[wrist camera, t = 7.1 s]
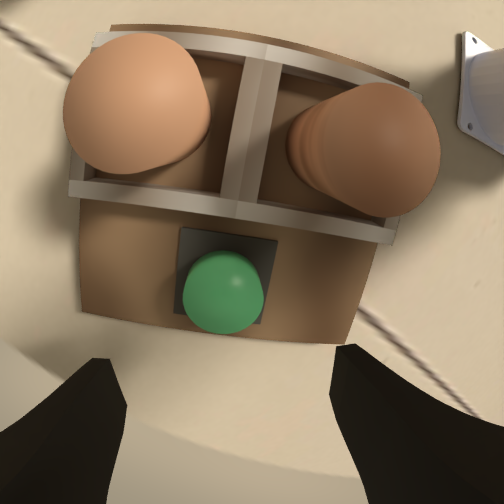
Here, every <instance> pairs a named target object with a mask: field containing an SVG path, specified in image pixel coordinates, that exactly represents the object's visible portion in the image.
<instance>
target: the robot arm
mask: <svg viewBox="0 0 504 504" xmlns="http://www.w3.org/2000/svg"><path fill="white" fill-rule="evenodd" d="M472 40H473V41H472ZM457 124H458V127H459V129H460V130H461V131H463V132H465V133H466V134H468V135H470V136H472V137H474V138H475V139H477V140H479V141H481V142H482V143H484V144H486V145H488V146H489V147H491V148H492V149H494V150H496V151H497V152H499V153H501V154H502V155H504V48H503V49H498V50H493V49H492V48H490V47H489V46H488V45H486V44H485V43H484V42H482V41H481V40H480V39H478V38H477V37H476V36H474V35H473V34H471V33H470V32H468V31H465V32H463V33H462V71H461V89H460V101H459V111H458V120H457ZM468 125H469V129H468ZM329 396H330V399H331V403H332V407H333V411H334V414H335V418H336V421H337V423H338V426H339V428H340V431H341V433H342V435H343V438H344V440H345V442H346V445H347V447H348V449H349V451H350V454H351V456H352V458H353V461H354V463H355V465H356V468H357V470H358V472H359V475H360V477H361V480H362V483H363V485H364V489H365V492H366V496H367V499H368V503H369V504H504V427H503V426H499V425H496V424H492V423H489V422H487V421H484V420H481V419H478V418H475V417H473V416H470V415H468V414H466V413H463V412H461V411H459V410H457V409H455V408H453V407H451V406H449V405H447V404H444V403H443V402H441V401H439V400H437V399H435V398H434V397H432V396H430V395H429V394H427V393H425V392H424V391H422V390H420V389H419V388H417V387H415V386H414V385H412V384H411V383H409V382H408V381H406V380H405V379H403V378H402V377H400V376H399V375H398V374H396V373H395V372H393V371H392V370H391V369H389V368H388V367H386V366H385V365H384V364H382V363H381V362H380V361H378V360H377V359H376V358H374V357H373V356H372V355H370V354H369V353H368V352H366V351H365V350H364V349H362V348H361V347H359V346H358V345H357V344H349V345H342V346H336V353H335V360H334V367H333V373H332V380H331V386H330V392H329ZM126 410H127V404H126V401H125V399H124V396H123V394H122V391H121V389H120V386H119V383H118V381H117V378H116V375H115V372H114V370H113V367H112V364H111V361H110V359H101V358H92V359H91V360H89V361H88V362H87V363H86V364H84V365H83V366H82V367H81V368H80V369H79V370H78V371H76V372H75V373H74V374H73V375H72V376H71V377H70V378H69V379H67V380H66V381H65V382H64V383H63V384H62V385H61V386H59V387H58V388H57V389H56V390H55V391H54V392H53V393H52V394H51V395H49V396H48V397H47V398H46V399H44V400H43V401H42V402H41V403H40V404H38V405H37V406H36V407H35V408H34V409H32V410H31V411H30V412H29V413H27V414H26V415H25V416H23V417H22V418H21V419H20V420H18V421H17V422H15V423H14V424H12V425H11V426H9V427H8V428H6V429H5V430H3V431H2V432H0V504H106V501H107V495H108V489H109V485H110V481H111V477H112V473H113V469H114V465H115V461H116V458H117V454H118V450H119V447H120V443H121V439H122V436H123V431H124V425H125V418H126Z"/></svg>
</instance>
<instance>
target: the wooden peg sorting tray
mask: <svg viewBox="0 0 504 504" xmlns="http://www.w3.org/2000/svg"><path fill="white" fill-rule="evenodd" d="M134 33H151V34H157V35H161V36H164V37H167V38H169V39H171V40H173V41H175V42H176V43H178V44H179V45H181V46H182V47H183V48H184V49H185V50H186V51H187V52H188V53H189V54H190V56H191V57H192V58H193V60H194V62H195V64H196V65H197V68H198V70H199V73H200V76H201V79H202V82H203V85H204V88H205V91H206V94H207V97H208V100H209V103H210V106H211V113H212V119H211V126H210V130H209V132H208V135H207V137H206V139H205V140H204V142H203V143H202V145H201V146H200V147H199V148H198V149H197V150H196V151H195V152H194V153H193V154H191V155H190V156H188V157H187V158H185V159H183V160H180V161H178V162H174V163H170V164H167V165H163V166H159V167H156V168H152V169H149V170H145V171H142V172H138V173H132V174H113V173H108V172H104V171H101V170H99V169H97V168H94V167H93V166H91V165H89V164H88V163H86V162H85V161H84V160H83V159H82V158H81V157H80V156H79V155H78V154H77V153H76V152H75V150H74V149H73V147H72V153H71V163H70V174H69V188H68V197H77V198H81V200H80V226H79V263H80V288H81V304H82V312H87V313H91V314H96V315H101V316H106V317H111V318H116V319H121V320H127V321H132V322H138V323H144V324H149V325H156V326H162V327H168V328H175V329H181V330H188V331H195V332H203V333H211V334H216V333H212V332H208V331H206V330H204V329H202V328H200V327H199V326H197V325H196V324H195V323H194V322H193V321H192V320H191V319H190V318H189V316H188V315H187V313H186V311H185V308H184V305H183V291H184V287H185V283H186V280H187V276H188V273H189V270H190V269H191V267H192V265H193V264H194V263H195V262H196V261H197V260H198V259H199V258H200V257H202V256H204V255H205V254H208V253H210V252H214V251H221V250H225V251H232V252H236V253H238V254H240V255H242V256H244V257H246V258H247V259H248V260H249V261H250V262H251V263H252V264H253V265H254V267H255V268H256V270H257V272H258V275H259V279H260V283H261V286H262V290H263V296H264V301H263V307H262V310H261V312H260V314H259V316H258V317H257V319H256V320H255V321H254V322H253V323H252V324H251V325H250V326H248V327H247V328H245V329H243V330H241V331H238V332H235V333H231V334H219V335H227V336H236V337H245V338H255V339H266V340H278V341H291V342H305V343H322V344H345V341H346V339H347V336H348V333H349V331H350V328H351V325H352V322H353V319H354V317H355V314H356V311H357V308H358V305H359V302H360V299H361V296H362V293H363V290H364V287H365V284H366V281H367V278H368V275H369V271H370V268H371V265H372V261H373V258H374V255H375V251H376V248H377V244H378V243H381V244H386V245H393V241H394V238H395V234H396V230H397V227H398V223H399V219H400V215H403V214H405V213H407V212H409V211H411V210H412V209H414V208H415V207H417V206H418V205H419V204H420V203H421V202H422V201H423V200H424V199H425V198H426V197H427V195H428V194H429V192H430V191H431V189H432V187H433V185H434V183H435V181H436V178H437V175H438V171H439V166H440V153H441V152H440V142H439V136H438V133H437V129H436V127H435V124H434V122H433V120H432V118H431V116H430V114H429V112H428V111H427V110H426V108H425V107H424V106H423V104H422V98H423V95H421V94H419V93H416V92H414V91H412V90H410V89H409V83H410V82H408V81H405V80H403V79H401V78H398V77H396V76H394V75H391V74H389V73H387V72H384V71H382V70H379V69H376V68H374V67H371V66H369V65H366V64H363V63H360V62H358V61H355V60H352V59H349V58H346V57H343V56H340V55H337V54H333V53H330V52H327V51H323V50H320V49H316V48H313V47H309V46H305V45H302V44H298V43H294V42H289V41H285V40H281V39H276V38H271V37H266V36H261V35H256V34H250V33H244V32H238V31H231V30H224V29H216V28H207V27H197V26H184V25H165V24H119V25H111V28H110V31H109V32H96V34H95V37H94V41H93V44H92V48H91V52H90V54H91V53H92V52H93V51H94V50H96V49H97V48H98V47H100V46H101V45H103V44H104V43H106V42H108V41H110V40H112V39H115V38H117V37H120V36H124V35H128V34H134Z"/></svg>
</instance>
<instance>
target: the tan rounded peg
mask: <svg viewBox="0 0 504 504" xmlns="http://www.w3.org/2000/svg"><path fill="white" fill-rule="evenodd" d="M211 119H212V113H211V106H210V103H209V100H208V97H207V94H206V91H205V88H204V85H203V82H202V79H201V76H200V73H199V70H198V68H197V65H196V64H195V62H194V60H193V58H192V57H191V56H190V54H189V53H188V52H187V51H186V50H185V49H184V48H183V47H182V46H181V45H179V44H178V43H176V42H175V41H173V40H171V39H169V38H167V37H164V36H161V35H157V34H151V33H134V34H128V35H124V36H120V37H117V38H115V39H112V40H110V41H108V42H106V43H104V44H103V45H101V46H100V47H98V48H97V49H96V50H94V51H93V52H92V53H91V54H90V55H89V56H88V57H87V58H86V59H85V60H84V61H83V62H82V63H81V65H80V66H79V67H78V68H77V70H76V72H75V73H74V75H73V77H72V79H71V81H70V83H69V85H68V88H67V91H66V94H65V99H64V106H63V121H64V127H65V131H66V134H67V137H68V139H69V142H70V144H71V145H72V147H73V149H74V150H75V152H76V153H77V154H78V155H79V156H80V157H81V158H82V159H83V160H84V161H85V162H86V163H88V164H89V165H91V166H93V167H94V168H97V169H99V170H101V171H104V172H108V173H113V174H132V173H138V172H142V171H145V170H149V169H152V168H156V167H159V166H163V165H167V164H170V163H174V162H178V161H180V160H183V159H185V158H187V157H188V156H190V155H191V154H193V153H194V152H195V151H196V150H197V149H198V148H199V147H200V146H201V145H202V143H203V142H204V140H205V139H206V137H207V135H208V132H209V130H210V126H211Z"/></svg>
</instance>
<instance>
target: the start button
mask: <svg viewBox="0 0 504 504" xmlns="http://www.w3.org/2000/svg"><path fill="white" fill-rule="evenodd" d="M263 301H264V296H263V290H262V286H261V283H260V279H259V275H258V272H257V270H256V268H255V267H254V265H253V264H252V263H251V262H250V261H249V260H248V259H247V258H246V257H244V256H242V255H240V254H238V253H236V252H232V251H225V250H221V251H214V252H210V253H208V254H205V255H204V256H202V257H200V258H199V259H198V260H197V261H196V262H195V263H194V264H193V265H192V267H191V269H190V270H189V273H188V276H187V280H186V283H185V287H184V291H183V305H184V308H185V311H186V313H187V315H188V316H189V318H190V319H191V320H192V321H193V322H194V323H195V324H196V325H197V326H199V327H200V328H202V329H204V330H206V331H208V332H212V333H216V334H231V333H235V332H238V331H241V330H243V329H245V328H247V327H248V326H250V325H251V324H252V323H253V322H254V321H255V320H256V319H257V317H258V316H259V314H260V312H261V310H262V307H263Z"/></svg>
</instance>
